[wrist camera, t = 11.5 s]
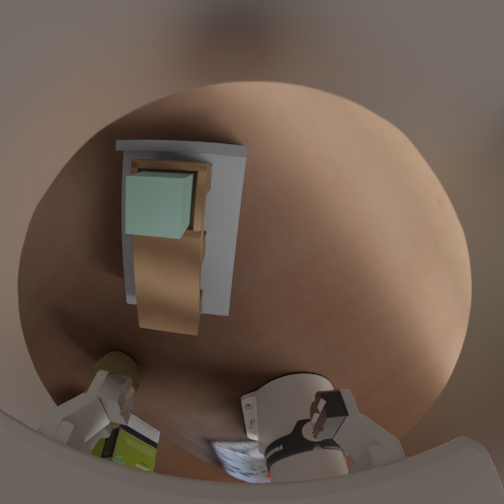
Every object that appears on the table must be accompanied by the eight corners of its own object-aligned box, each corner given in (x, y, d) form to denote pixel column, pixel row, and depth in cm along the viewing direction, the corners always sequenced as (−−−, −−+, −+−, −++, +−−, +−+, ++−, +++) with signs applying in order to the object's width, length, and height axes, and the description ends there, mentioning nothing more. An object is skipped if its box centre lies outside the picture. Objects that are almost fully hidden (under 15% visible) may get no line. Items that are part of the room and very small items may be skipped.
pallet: (202, 311, 29) (196, 340, 25) (150, 304, 29) (137, 331, 24) (213, 161, 24) (206, 163, 19) (151, 157, 23) (131, 159, 18)
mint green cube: (190, 223, 21) (180, 238, 18) (143, 219, 21) (125, 233, 17) (194, 173, 20) (183, 178, 16) (145, 170, 20) (126, 175, 16)
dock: (229, 293, 34) (227, 326, 28) (139, 283, 33) (120, 312, 27) (246, 147, 28) (248, 146, 22) (141, 141, 27) (116, 140, 21)
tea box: (126, 441, 49) (114, 487, 35) (94, 420, 46) (76, 467, 32) (162, 431, 47) (152, 486, 33) (125, 407, 43) (107, 465, 30)
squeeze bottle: (92, 350, 38) (49, 430, 21) (124, 339, 37) (82, 432, 20) (120, 382, 40) (90, 462, 24) (153, 374, 40) (128, 465, 23)
